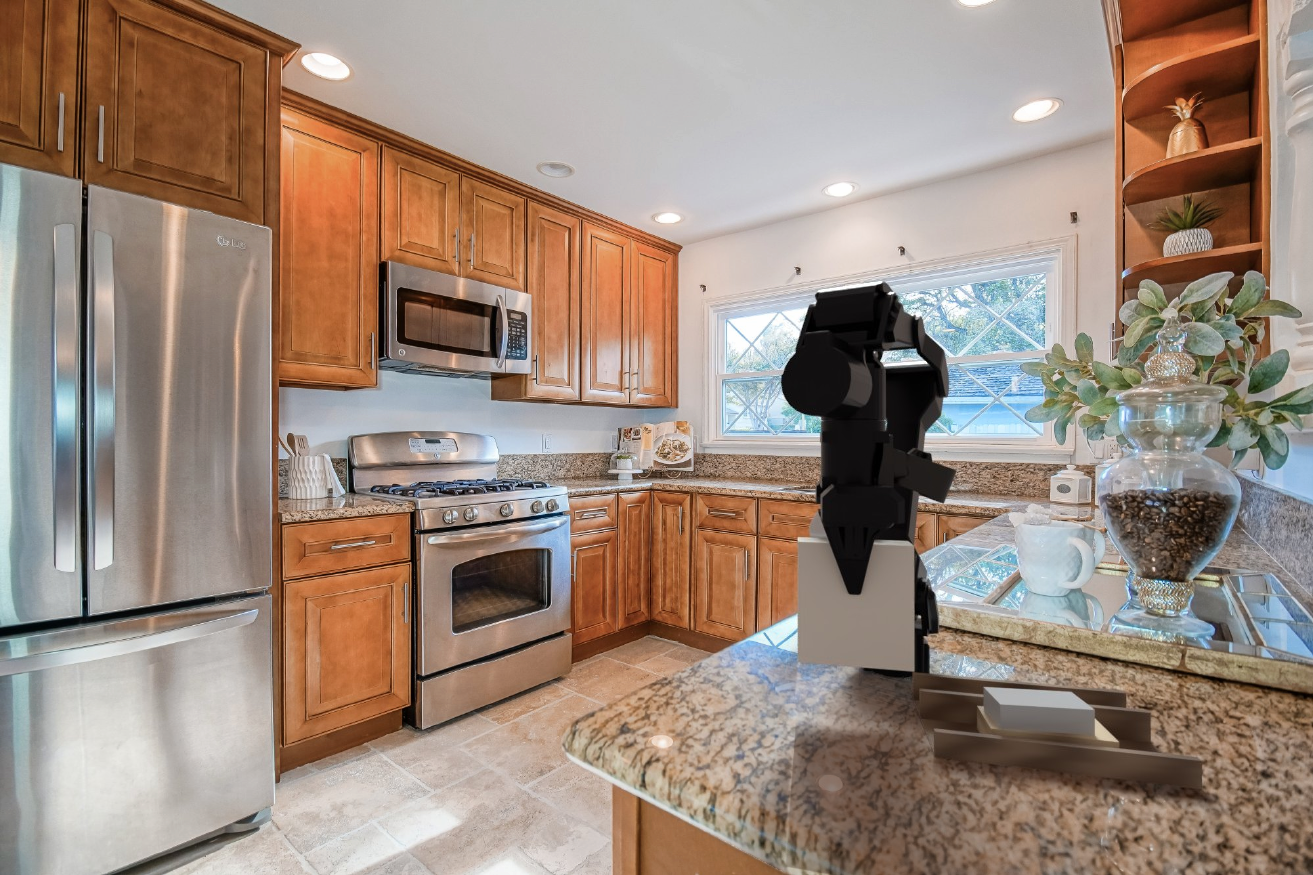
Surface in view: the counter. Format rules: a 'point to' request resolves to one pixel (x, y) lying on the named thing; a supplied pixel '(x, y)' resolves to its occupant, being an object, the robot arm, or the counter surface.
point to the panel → (856, 608)
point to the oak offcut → (1047, 733)
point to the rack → (956, 737)
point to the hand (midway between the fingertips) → (852, 590)
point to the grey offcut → (1039, 711)
